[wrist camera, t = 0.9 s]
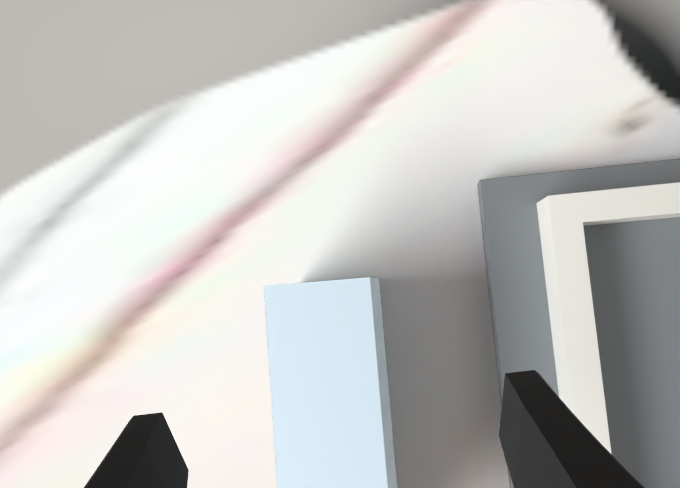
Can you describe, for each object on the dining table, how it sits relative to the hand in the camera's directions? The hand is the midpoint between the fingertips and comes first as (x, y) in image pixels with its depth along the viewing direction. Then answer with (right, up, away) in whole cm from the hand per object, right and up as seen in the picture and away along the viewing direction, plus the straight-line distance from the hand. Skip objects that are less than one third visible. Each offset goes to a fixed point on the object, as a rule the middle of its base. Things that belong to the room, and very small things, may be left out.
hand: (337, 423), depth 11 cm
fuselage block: (0, -4, +14) cm, 14 cm away
